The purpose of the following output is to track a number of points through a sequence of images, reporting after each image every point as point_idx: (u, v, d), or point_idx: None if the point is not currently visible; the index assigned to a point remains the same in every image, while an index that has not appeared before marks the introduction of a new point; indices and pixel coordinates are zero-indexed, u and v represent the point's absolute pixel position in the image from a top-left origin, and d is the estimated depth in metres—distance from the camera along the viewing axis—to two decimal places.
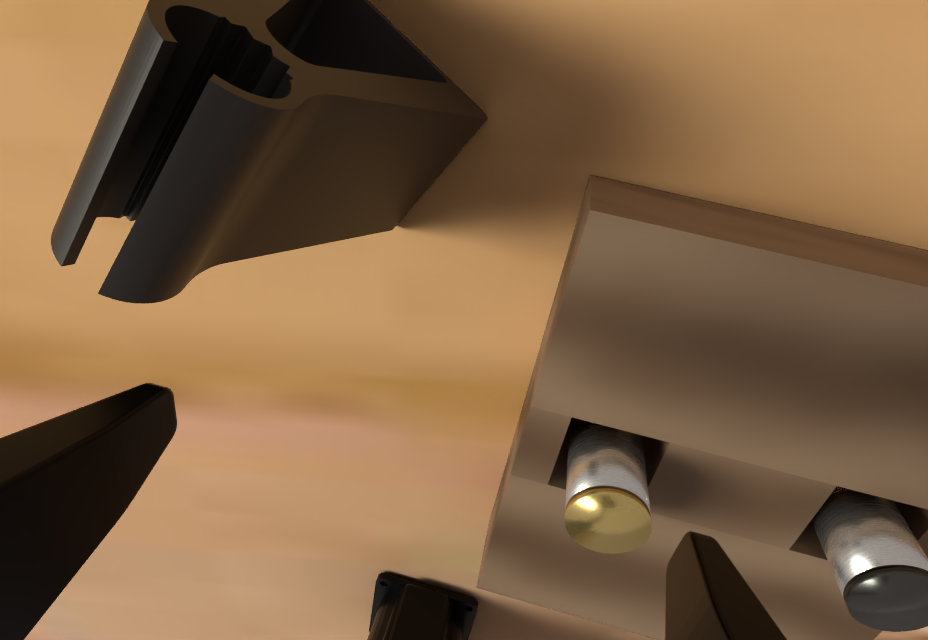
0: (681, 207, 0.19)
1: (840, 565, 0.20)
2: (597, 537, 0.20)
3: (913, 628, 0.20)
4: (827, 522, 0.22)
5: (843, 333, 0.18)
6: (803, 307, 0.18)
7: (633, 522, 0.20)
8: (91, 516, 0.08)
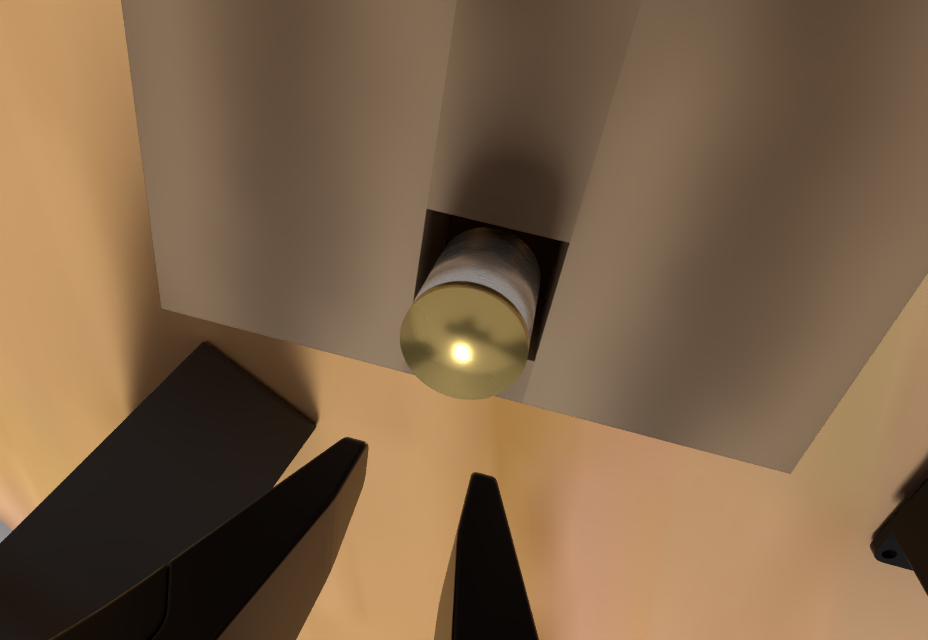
0: None
1: None
2: (493, 359, 0.13)
3: None
4: None
5: (201, 16, 0.13)
6: (185, 78, 0.14)
7: (448, 314, 0.13)
8: (313, 582, 0.08)
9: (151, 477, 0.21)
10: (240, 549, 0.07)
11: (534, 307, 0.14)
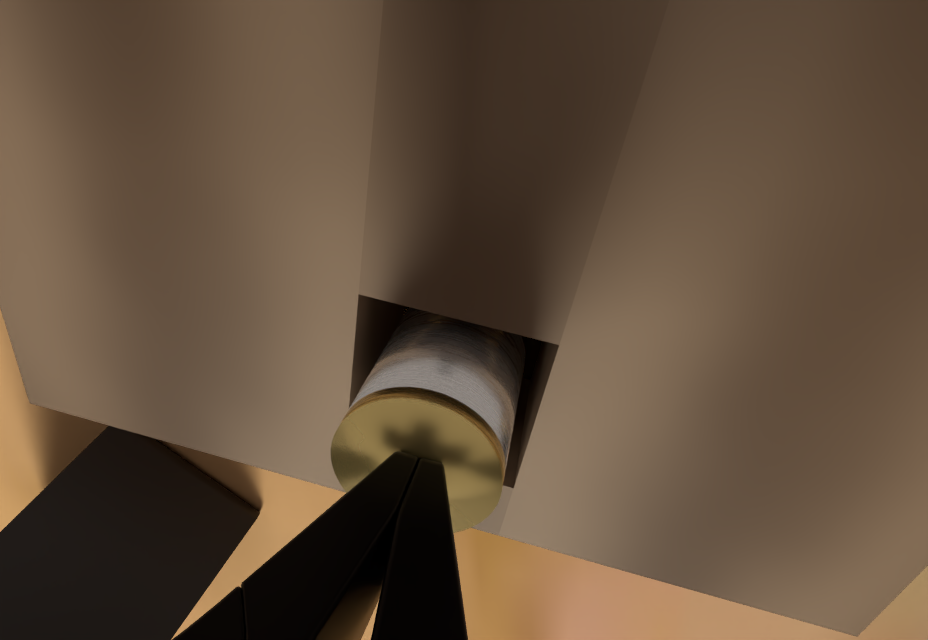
0: None
1: None
2: (455, 489, 0.10)
3: None
4: None
5: (19, 25, 0.09)
6: (12, 112, 0.10)
7: (393, 432, 0.09)
8: (371, 599, 0.08)
9: (37, 601, 0.16)
10: (310, 570, 0.07)
11: (514, 406, 0.11)
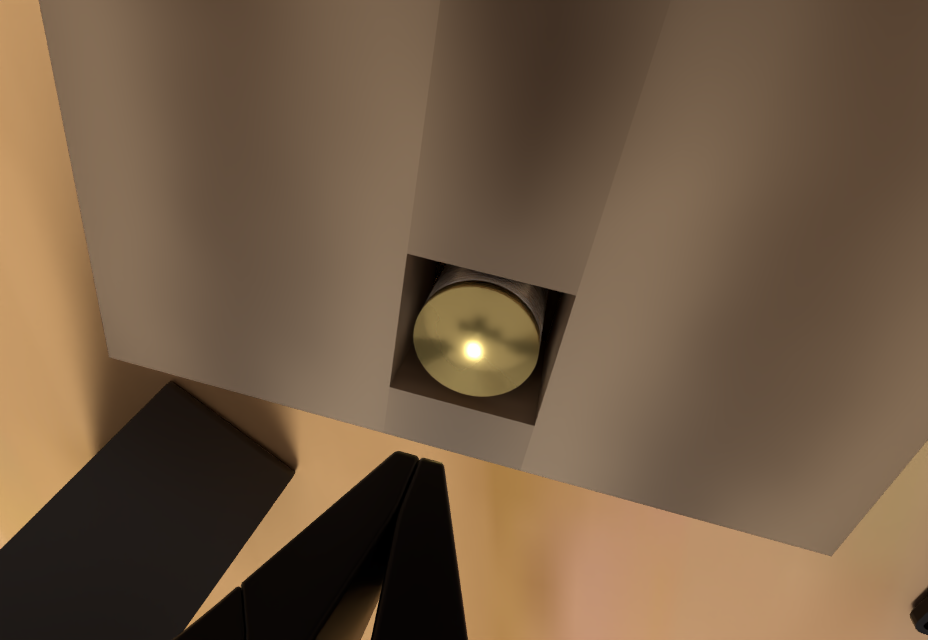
0: None
1: None
2: (504, 357, 0.13)
3: None
4: None
5: (134, 27, 0.11)
6: (121, 100, 0.12)
7: (461, 312, 0.13)
8: (371, 599, 0.08)
9: (104, 540, 0.18)
10: (310, 570, 0.07)
11: (544, 306, 0.14)
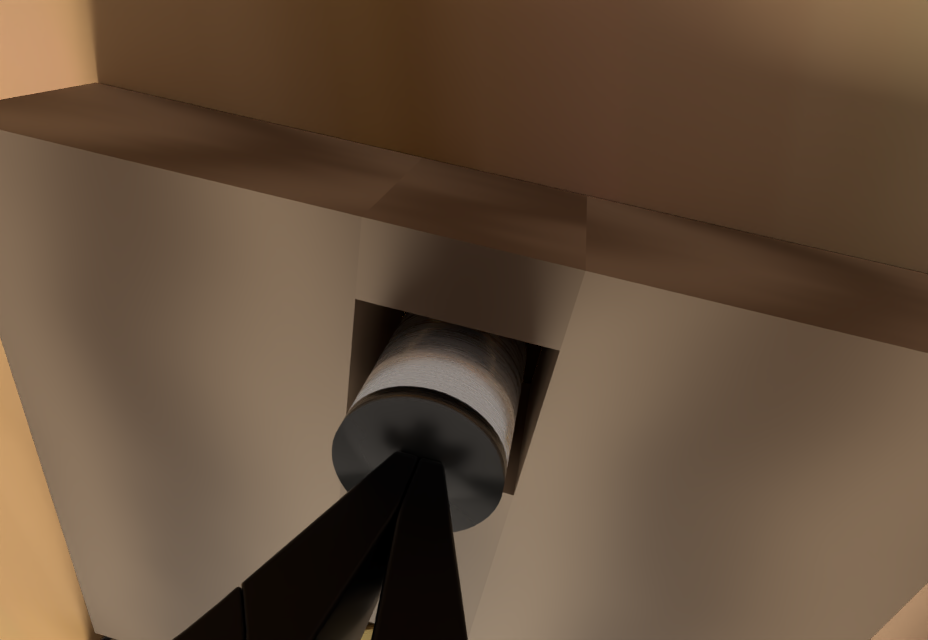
0: None
1: None
2: None
3: (486, 438, 0.09)
4: None
5: (109, 466, 0.14)
6: (99, 500, 0.15)
7: None
8: (371, 599, 0.08)
9: None
10: (310, 570, 0.07)
11: None
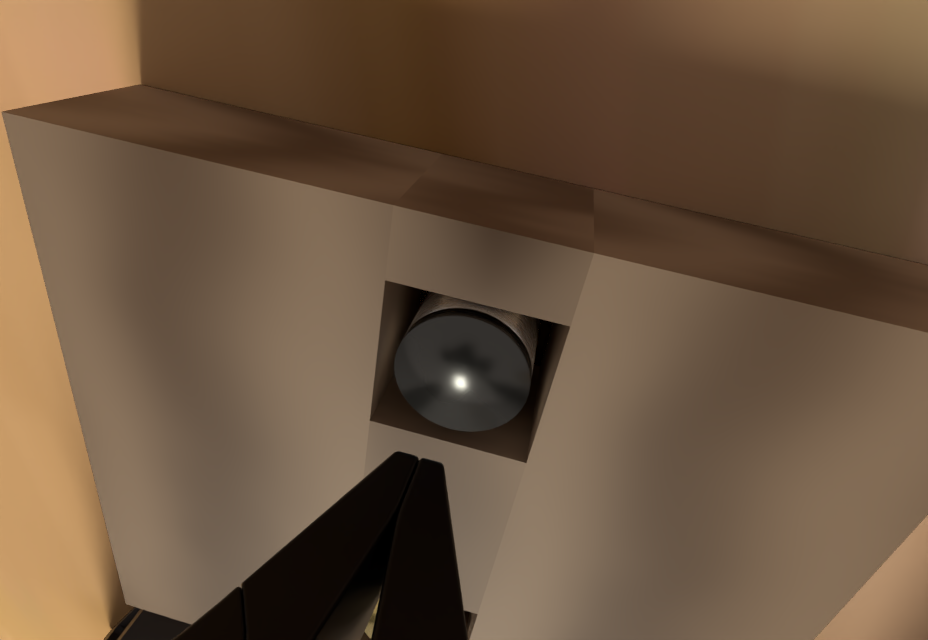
0: None
1: None
2: None
3: (517, 346, 0.12)
4: None
5: (149, 440, 0.15)
6: (138, 473, 0.16)
7: None
8: (371, 599, 0.08)
9: None
10: (309, 570, 0.07)
11: None
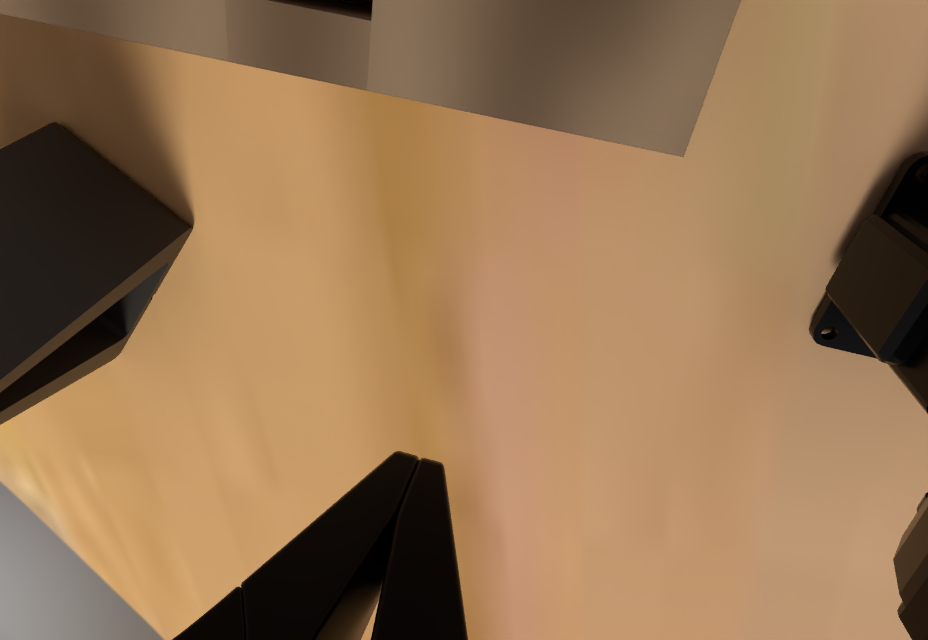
0: None
1: None
2: None
3: None
4: None
5: None
6: None
7: None
8: (371, 599, 0.08)
9: None
10: (310, 569, 0.07)
11: None
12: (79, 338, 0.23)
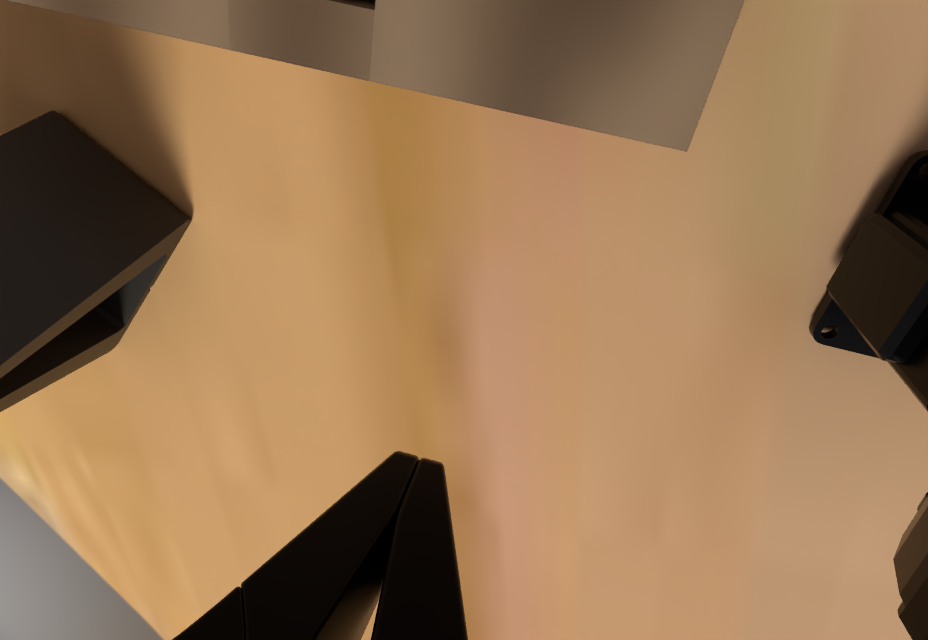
0: None
1: None
2: None
3: None
4: None
5: None
6: None
7: None
8: (371, 599, 0.08)
9: None
10: (309, 570, 0.07)
11: None
12: (76, 329, 0.23)
